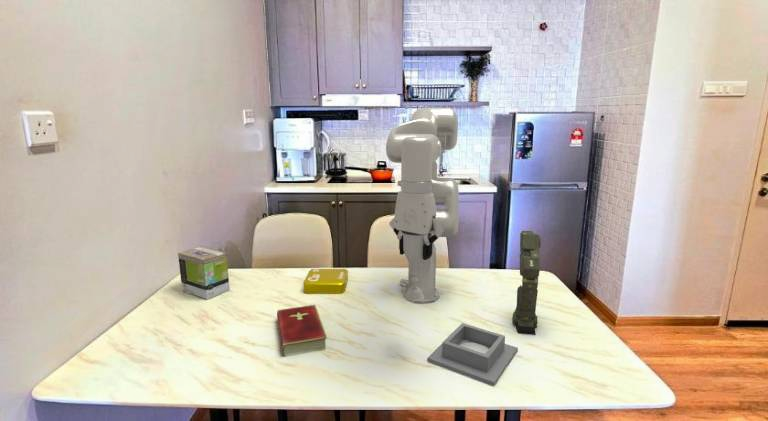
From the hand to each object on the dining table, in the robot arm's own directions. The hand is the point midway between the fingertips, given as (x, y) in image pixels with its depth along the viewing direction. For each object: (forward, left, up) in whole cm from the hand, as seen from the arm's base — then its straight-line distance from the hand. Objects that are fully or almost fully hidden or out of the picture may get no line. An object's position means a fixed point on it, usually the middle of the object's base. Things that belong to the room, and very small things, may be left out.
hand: (415, 255), depth 107 cm
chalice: (0, 0, -12) cm, 12 cm away
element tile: (-49, +19, -28) cm, 60 cm away
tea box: (-83, -9, -28) cm, 88 cm away
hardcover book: (-32, -11, -28) cm, 44 cm away
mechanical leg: (+20, +32, -28) cm, 47 cm away
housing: (+14, +7, -27) cm, 32 cm away
